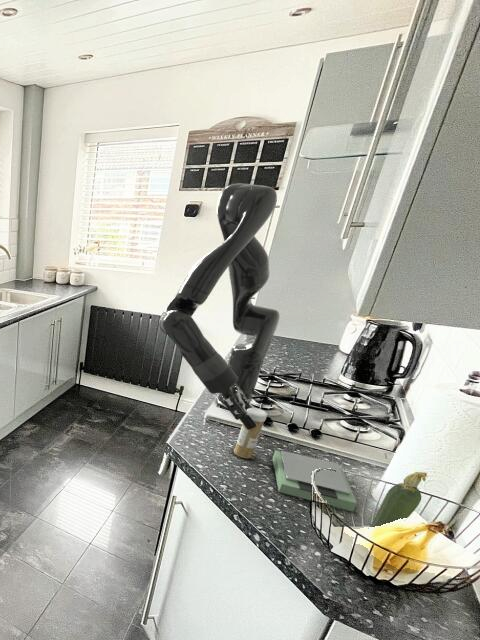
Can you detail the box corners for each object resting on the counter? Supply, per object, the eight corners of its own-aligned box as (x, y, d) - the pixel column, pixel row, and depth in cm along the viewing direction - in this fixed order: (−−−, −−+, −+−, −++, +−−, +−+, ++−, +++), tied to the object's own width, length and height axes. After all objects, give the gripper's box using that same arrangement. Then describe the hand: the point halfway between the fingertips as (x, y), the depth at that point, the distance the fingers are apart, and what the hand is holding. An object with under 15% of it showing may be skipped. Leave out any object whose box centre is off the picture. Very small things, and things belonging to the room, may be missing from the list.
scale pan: (279, 452, 111) (280, 450, 111) (336, 466, 106) (338, 463, 106) (285, 479, 101) (286, 477, 101) (349, 495, 96) (350, 493, 96)
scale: (272, 457, 113) (275, 449, 112) (337, 473, 107) (341, 465, 106) (278, 492, 101) (282, 483, 100) (353, 512, 95) (357, 503, 93)
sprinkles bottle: (252, 461, 112) (268, 417, 106) (233, 456, 114) (247, 412, 108) (252, 452, 116) (267, 409, 110) (232, 447, 118) (246, 405, 112)
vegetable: (356, 539, 87) (398, 459, 79) (382, 545, 86) (428, 464, 77) (365, 554, 84) (410, 473, 75) (392, 561, 82) (442, 478, 74)
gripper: (227, 374, 103) (269, 426, 103) (227, 355, 114) (264, 402, 114) (198, 389, 107) (238, 439, 107) (201, 369, 119) (236, 415, 119)
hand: (251, 420), depth 111 cm, fingers open, 8 cm apart
